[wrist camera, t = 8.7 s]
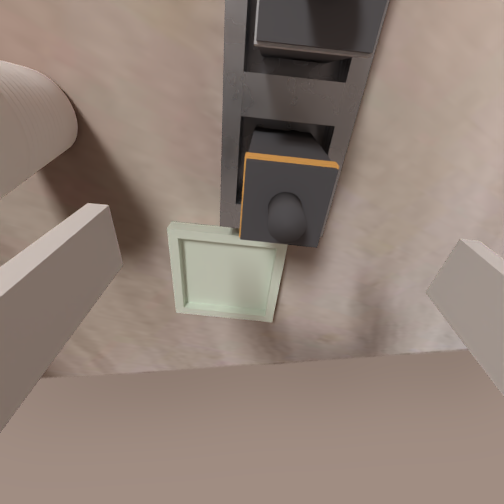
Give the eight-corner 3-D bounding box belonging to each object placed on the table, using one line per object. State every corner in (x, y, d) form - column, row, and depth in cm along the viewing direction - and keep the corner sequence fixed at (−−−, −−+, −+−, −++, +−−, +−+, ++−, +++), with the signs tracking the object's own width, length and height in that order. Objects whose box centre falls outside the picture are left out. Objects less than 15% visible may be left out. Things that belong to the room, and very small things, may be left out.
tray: (179, 303, 33) (176, 312, 32) (171, 221, 27) (166, 228, 25) (271, 313, 33) (272, 322, 32) (287, 233, 27) (288, 241, 25)
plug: (249, 182, 23) (234, 261, 13) (254, 125, 21) (240, 170, 11) (300, 188, 23) (324, 270, 13) (312, 131, 21) (352, 182, 11)
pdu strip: (225, 209, 25) (219, 226, 23) (237, -124, 14) (229, -175, 11) (316, 218, 26) (322, 237, 23) (399, -105, 14) (432, -151, 11)
